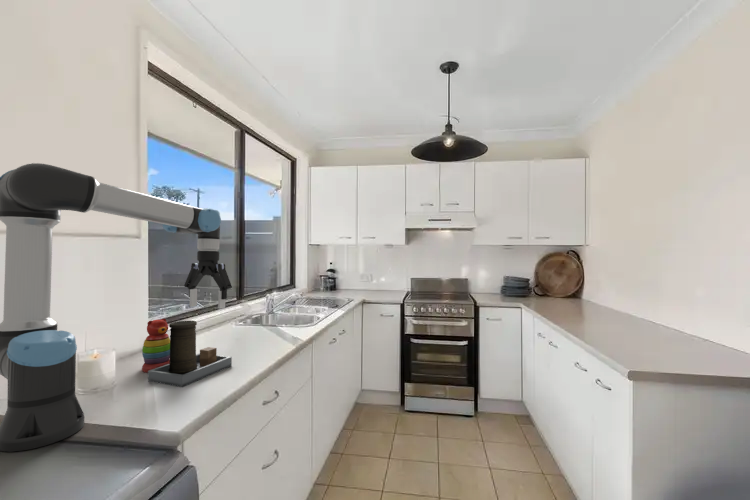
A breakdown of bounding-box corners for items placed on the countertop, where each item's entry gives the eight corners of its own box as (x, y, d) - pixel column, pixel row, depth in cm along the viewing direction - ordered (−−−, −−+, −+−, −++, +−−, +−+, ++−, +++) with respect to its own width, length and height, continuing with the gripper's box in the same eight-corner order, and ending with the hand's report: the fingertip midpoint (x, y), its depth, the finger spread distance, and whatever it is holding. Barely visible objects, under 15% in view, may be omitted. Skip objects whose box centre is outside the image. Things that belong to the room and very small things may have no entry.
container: (202, 370, 125) (203, 320, 125) (186, 379, 116) (187, 325, 116) (179, 369, 125) (179, 319, 126) (161, 378, 117) (161, 324, 117)
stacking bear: (146, 373, 124) (147, 323, 124) (135, 368, 130) (136, 320, 130) (178, 366, 132) (179, 319, 133) (167, 361, 138) (167, 316, 139)
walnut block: (208, 367, 129) (208, 350, 129) (199, 365, 130) (199, 349, 130) (216, 363, 132) (216, 348, 132) (208, 362, 134) (208, 347, 134)
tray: (182, 387, 111) (182, 376, 112) (147, 381, 116) (147, 370, 116) (231, 366, 132) (231, 356, 132) (200, 362, 137) (200, 353, 137)
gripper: (242, 250, 131) (241, 307, 130) (191, 250, 139) (189, 304, 138) (228, 250, 124) (226, 310, 123) (174, 250, 132) (173, 306, 131)
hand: (207, 307), depth 131 cm, fingers open, 13 cm apart
